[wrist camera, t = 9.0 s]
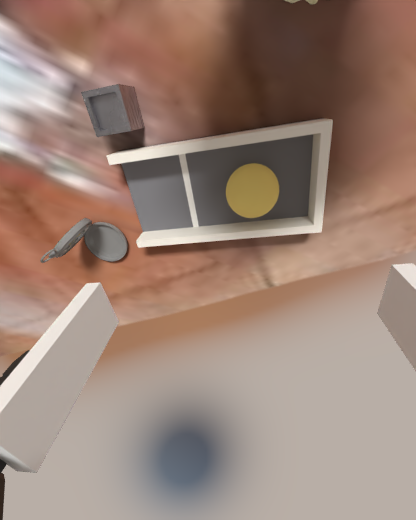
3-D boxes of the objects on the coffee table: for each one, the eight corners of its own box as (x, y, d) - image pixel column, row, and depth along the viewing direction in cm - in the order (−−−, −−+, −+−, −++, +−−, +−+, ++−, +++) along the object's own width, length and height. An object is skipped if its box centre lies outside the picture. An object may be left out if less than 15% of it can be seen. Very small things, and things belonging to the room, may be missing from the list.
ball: (229, 209, 32) (227, 228, 27) (224, 162, 29) (220, 174, 24) (276, 204, 31) (282, 223, 26) (275, 155, 28) (283, 166, 23)
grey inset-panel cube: (113, 133, 29) (96, 136, 26) (101, 93, 27) (81, 92, 24) (144, 127, 29) (131, 130, 25) (134, 86, 27) (118, 84, 23)
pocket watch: (128, 262, 40) (98, 304, 31) (78, 250, 40) (35, 289, 31) (129, 216, 35) (95, 251, 27) (73, 203, 35) (20, 234, 27)
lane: (146, 236, 37) (138, 247, 34) (119, 150, 30) (106, 155, 28) (314, 220, 32) (321, 232, 30) (322, 118, 26) (333, 119, 23)
